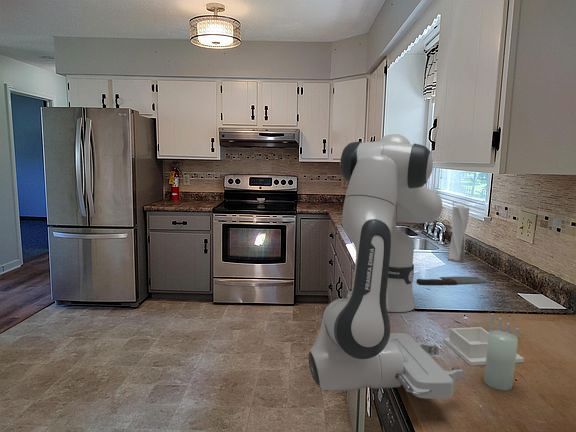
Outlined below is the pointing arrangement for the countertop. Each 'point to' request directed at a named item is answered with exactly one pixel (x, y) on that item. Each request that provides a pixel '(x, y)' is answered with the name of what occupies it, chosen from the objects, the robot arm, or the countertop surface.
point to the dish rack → (475, 342)
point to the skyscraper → (458, 233)
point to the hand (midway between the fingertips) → (449, 360)
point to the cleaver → (451, 281)
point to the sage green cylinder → (500, 360)
